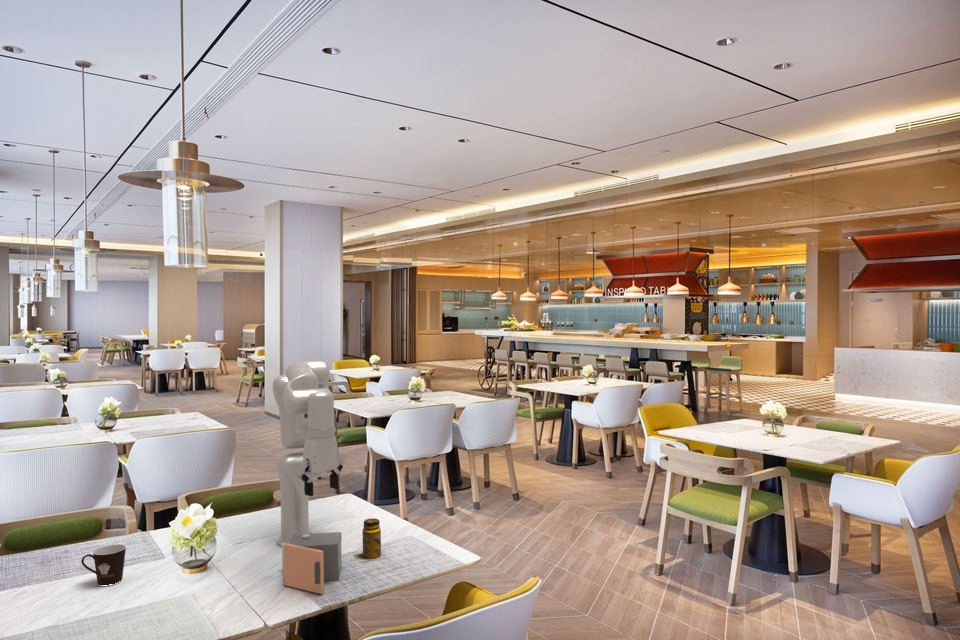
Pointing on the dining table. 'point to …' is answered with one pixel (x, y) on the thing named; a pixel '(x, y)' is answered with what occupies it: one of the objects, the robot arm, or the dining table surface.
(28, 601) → the dining table surface
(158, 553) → the dining table surface
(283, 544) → the door
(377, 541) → the condiment
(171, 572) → the dining table surface
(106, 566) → the coffee mug
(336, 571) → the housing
